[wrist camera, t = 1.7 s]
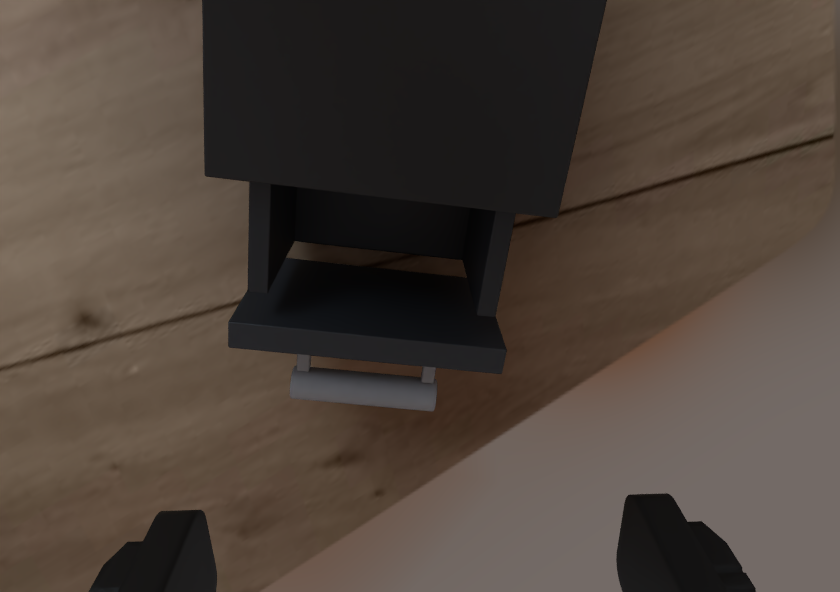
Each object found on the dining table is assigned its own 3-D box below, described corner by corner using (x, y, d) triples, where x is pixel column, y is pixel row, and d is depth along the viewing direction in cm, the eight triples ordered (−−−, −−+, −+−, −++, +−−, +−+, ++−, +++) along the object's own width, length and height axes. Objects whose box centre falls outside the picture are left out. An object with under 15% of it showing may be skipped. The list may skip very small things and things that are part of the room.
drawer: (467, 368, 34) (484, 456, 27) (264, 348, 34) (227, 434, 26) (529, 28, 27) (575, 27, 20) (275, -8, 26) (228, -22, 19)
